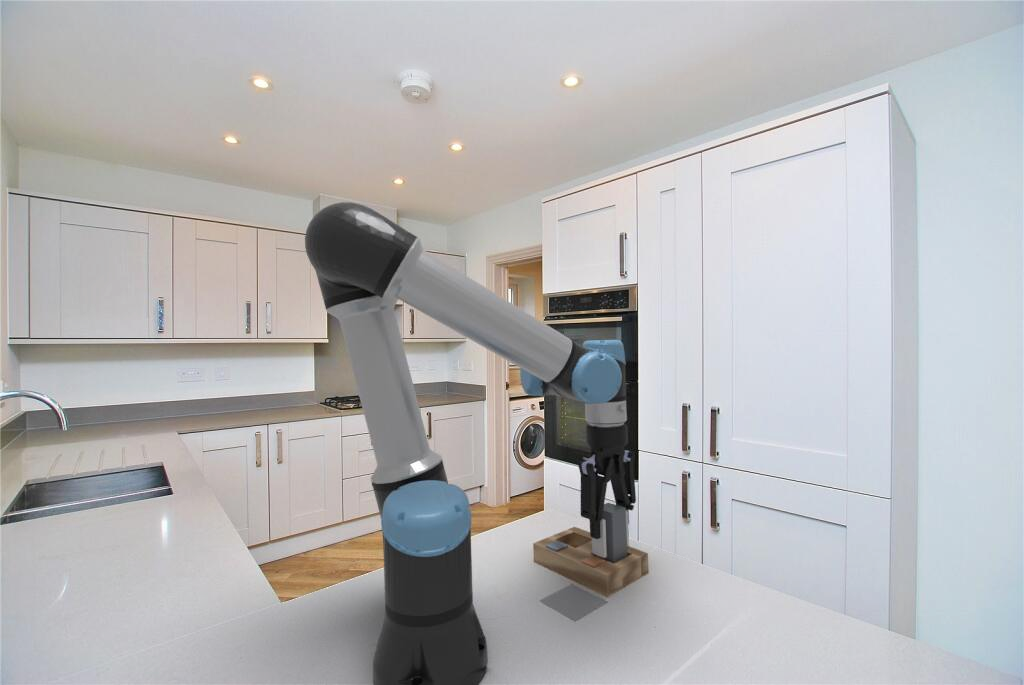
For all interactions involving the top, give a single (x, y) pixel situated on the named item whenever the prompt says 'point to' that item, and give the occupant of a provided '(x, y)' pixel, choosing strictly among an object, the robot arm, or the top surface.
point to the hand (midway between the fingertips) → (610, 549)
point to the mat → (573, 602)
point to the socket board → (585, 573)
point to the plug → (615, 532)
